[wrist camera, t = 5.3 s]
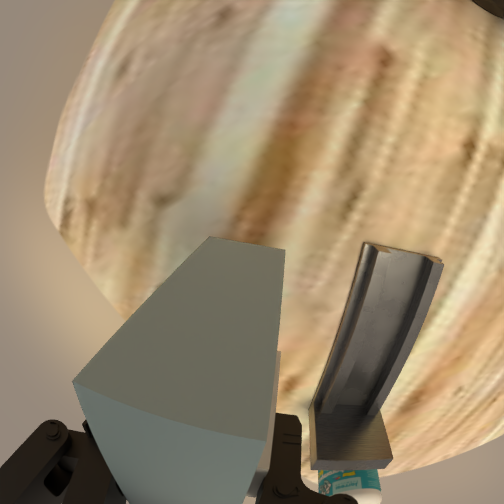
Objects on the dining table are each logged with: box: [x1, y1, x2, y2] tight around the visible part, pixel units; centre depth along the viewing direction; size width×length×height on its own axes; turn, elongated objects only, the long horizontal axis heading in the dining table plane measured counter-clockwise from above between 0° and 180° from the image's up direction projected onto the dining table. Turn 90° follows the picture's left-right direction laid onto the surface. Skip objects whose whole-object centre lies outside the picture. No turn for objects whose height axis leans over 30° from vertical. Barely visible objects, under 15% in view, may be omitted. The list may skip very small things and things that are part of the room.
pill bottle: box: [318, 469, 382, 504], centre depth 25 cm, size 8×7×14 cm
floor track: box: [309, 242, 444, 470], centre depth 22 cm, size 20×8×9 cm, turn 172°
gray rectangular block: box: [72, 237, 285, 504], centre depth 10 cm, size 12×3×9 cm, turn 172°
